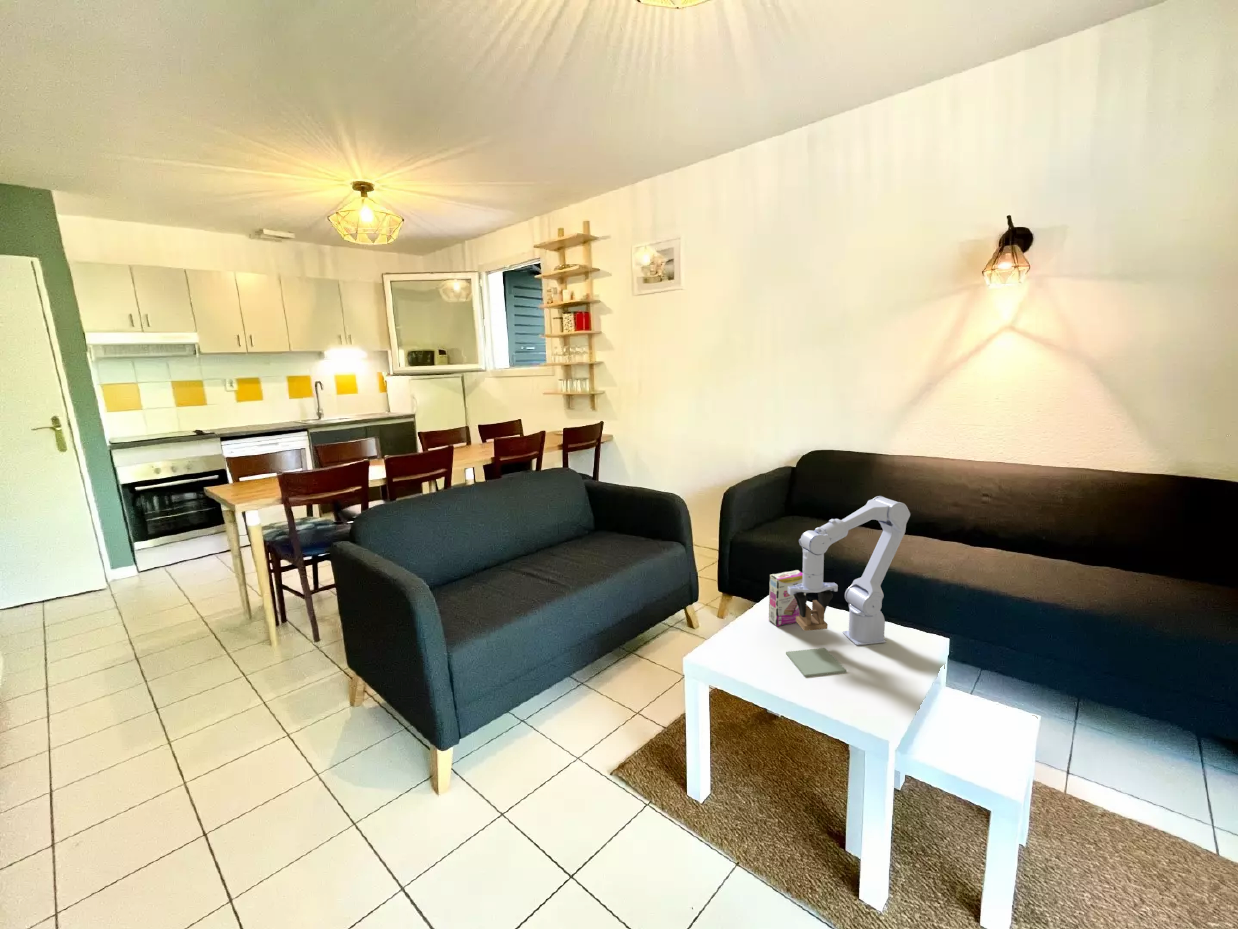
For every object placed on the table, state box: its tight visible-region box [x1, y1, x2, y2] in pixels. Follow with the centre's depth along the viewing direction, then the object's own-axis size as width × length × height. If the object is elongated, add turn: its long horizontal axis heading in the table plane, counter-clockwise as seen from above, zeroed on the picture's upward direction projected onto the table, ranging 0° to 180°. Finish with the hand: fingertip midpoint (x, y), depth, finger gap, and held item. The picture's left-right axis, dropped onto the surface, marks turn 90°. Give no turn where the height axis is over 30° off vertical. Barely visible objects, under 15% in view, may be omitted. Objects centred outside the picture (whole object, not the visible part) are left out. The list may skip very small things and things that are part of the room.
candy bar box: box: [768, 569, 807, 627], centre depth 172 cm, size 11×5×16 cm, turn 108°
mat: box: [785, 647, 848, 678], centre depth 149 cm, size 12×12×1 cm
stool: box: [796, 599, 829, 632], centre depth 156 cm, size 7×6×6 cm
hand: (811, 615), depth 156 cm, fingers closed on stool, 5 cm apart
